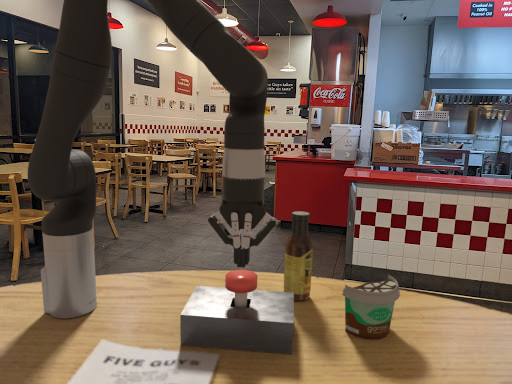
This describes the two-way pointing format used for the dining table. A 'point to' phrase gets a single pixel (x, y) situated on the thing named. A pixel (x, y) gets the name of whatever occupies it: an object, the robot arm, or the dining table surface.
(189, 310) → the console
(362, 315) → the food container
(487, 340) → the dining table surface
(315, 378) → the dining table surface
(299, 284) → the sauce bottle
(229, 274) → the red button
